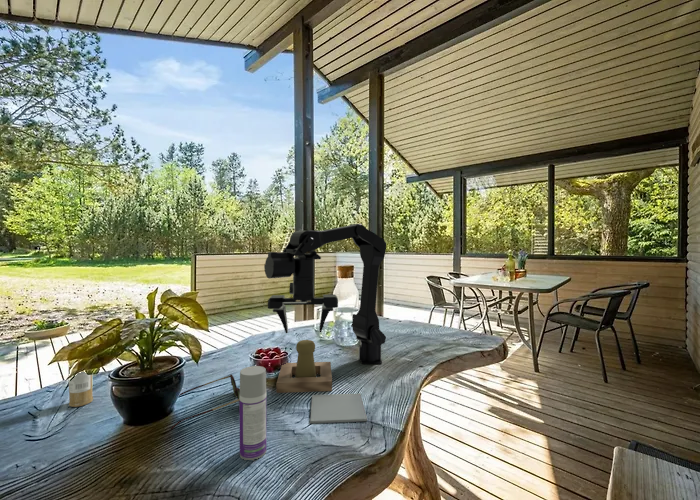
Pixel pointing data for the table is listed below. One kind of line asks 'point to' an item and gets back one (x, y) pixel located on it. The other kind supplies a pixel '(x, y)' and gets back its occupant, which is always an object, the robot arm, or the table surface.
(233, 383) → the sunglasses
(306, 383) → the holder
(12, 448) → the table surface
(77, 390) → the sprinkles bottle
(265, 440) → the container
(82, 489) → the table surface
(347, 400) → the tile
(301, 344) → the tan knobbed peg
